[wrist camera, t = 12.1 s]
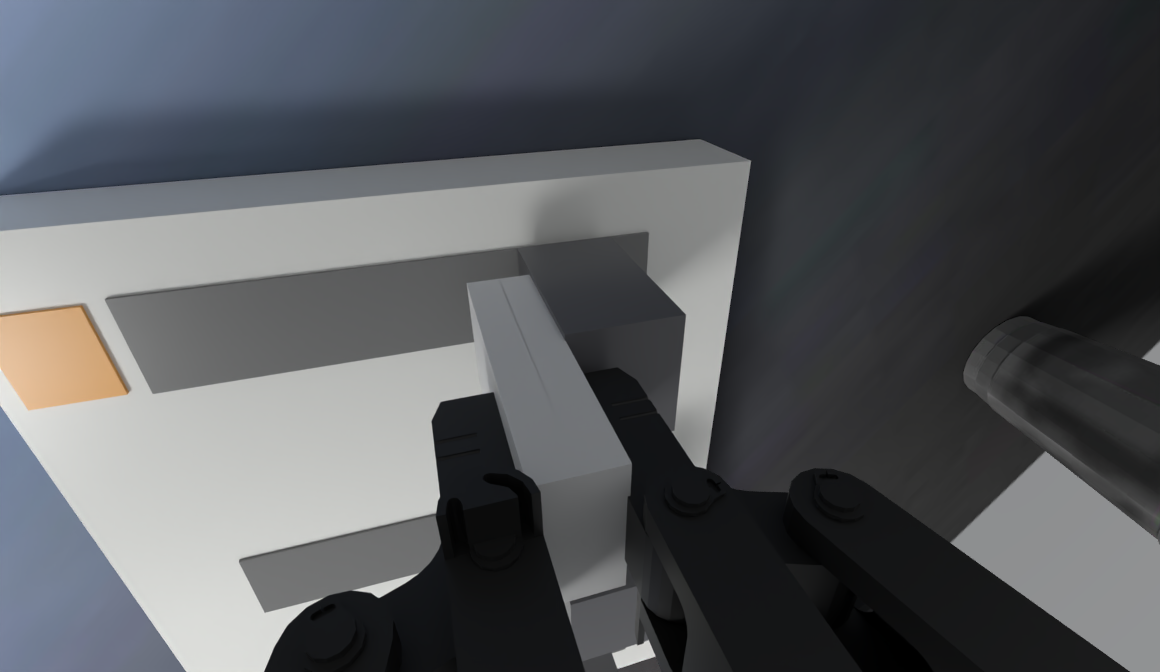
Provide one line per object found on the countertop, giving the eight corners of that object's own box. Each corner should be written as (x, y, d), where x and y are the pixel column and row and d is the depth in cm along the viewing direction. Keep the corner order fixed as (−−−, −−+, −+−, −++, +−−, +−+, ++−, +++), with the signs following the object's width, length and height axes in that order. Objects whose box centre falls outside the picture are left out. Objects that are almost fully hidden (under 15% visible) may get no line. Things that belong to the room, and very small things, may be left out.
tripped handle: (524, 347, 16) (568, 454, 12) (517, 247, 14) (565, 334, 10) (608, 333, 16) (674, 430, 13) (610, 236, 15) (685, 314, 11)
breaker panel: (276, 708, 26) (241, 935, 19) (-21, 197, 13) (-385, 371, 7) (655, 596, 30) (726, 749, 24) (700, 139, 18) (870, 212, 12)
